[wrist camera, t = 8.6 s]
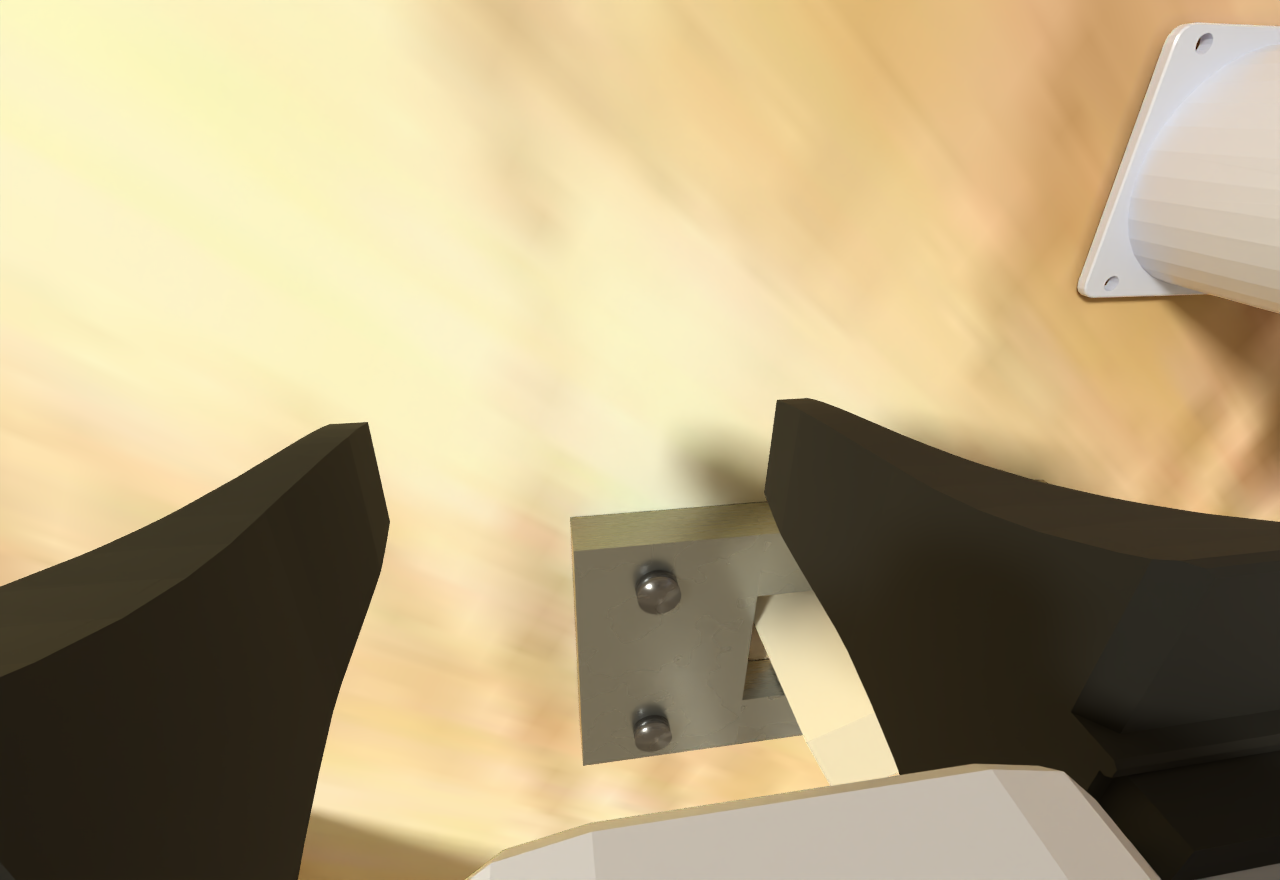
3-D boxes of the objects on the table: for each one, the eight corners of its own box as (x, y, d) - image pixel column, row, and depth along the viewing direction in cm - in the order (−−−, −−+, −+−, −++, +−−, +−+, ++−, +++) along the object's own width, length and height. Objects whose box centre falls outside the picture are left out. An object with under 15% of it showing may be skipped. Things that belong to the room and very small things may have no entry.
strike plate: (1043, 479, 26) (1092, 515, 24) (965, 675, 32) (999, 719, 29) (570, 517, 23) (574, 562, 21) (579, 725, 29) (584, 778, 26)
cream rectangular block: (827, 556, 26) (917, 693, 20) (850, 614, 28) (939, 754, 22) (742, 596, 26) (806, 742, 20) (771, 651, 28) (837, 798, 22)
